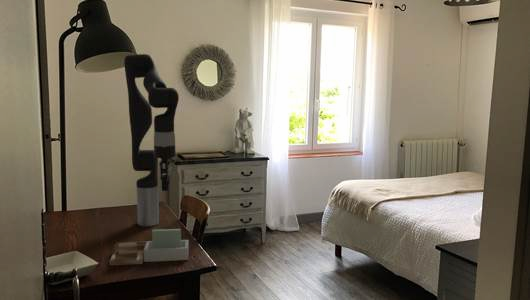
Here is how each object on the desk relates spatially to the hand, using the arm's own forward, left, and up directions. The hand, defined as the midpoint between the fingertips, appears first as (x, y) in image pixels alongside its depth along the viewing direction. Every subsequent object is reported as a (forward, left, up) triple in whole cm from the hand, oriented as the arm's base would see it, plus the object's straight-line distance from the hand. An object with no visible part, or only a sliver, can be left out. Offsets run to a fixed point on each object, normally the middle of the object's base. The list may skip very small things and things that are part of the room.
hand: (165, 187), depth 171 cm
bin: (+4, 0, -24) cm, 25 cm away
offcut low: (+9, -13, -23) cm, 28 cm away
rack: (+4, -13, -24) cm, 28 cm away
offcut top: (+9, -13, -20) cm, 26 cm away
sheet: (+4, 0, -24) cm, 24 cm away
